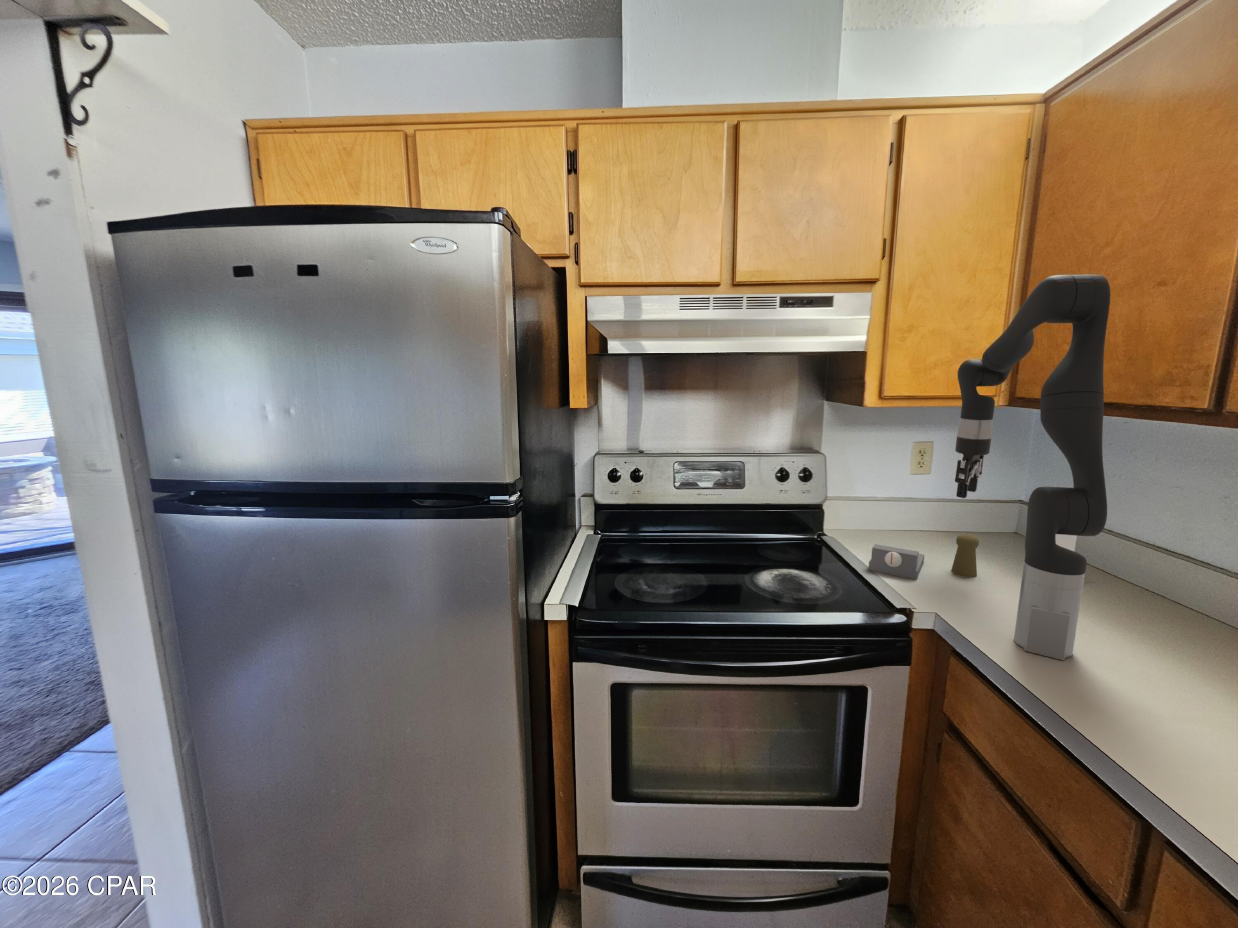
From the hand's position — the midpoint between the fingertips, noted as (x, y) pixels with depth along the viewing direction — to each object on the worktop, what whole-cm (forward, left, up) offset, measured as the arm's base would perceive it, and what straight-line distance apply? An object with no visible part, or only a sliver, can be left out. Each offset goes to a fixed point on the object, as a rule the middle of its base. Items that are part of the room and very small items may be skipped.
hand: (966, 494), depth 136 cm
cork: (+1, -1, -23) cm, 23 cm away
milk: (+19, -21, -23) cm, 37 cm away
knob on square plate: (-4, +15, -23) cm, 27 cm away
